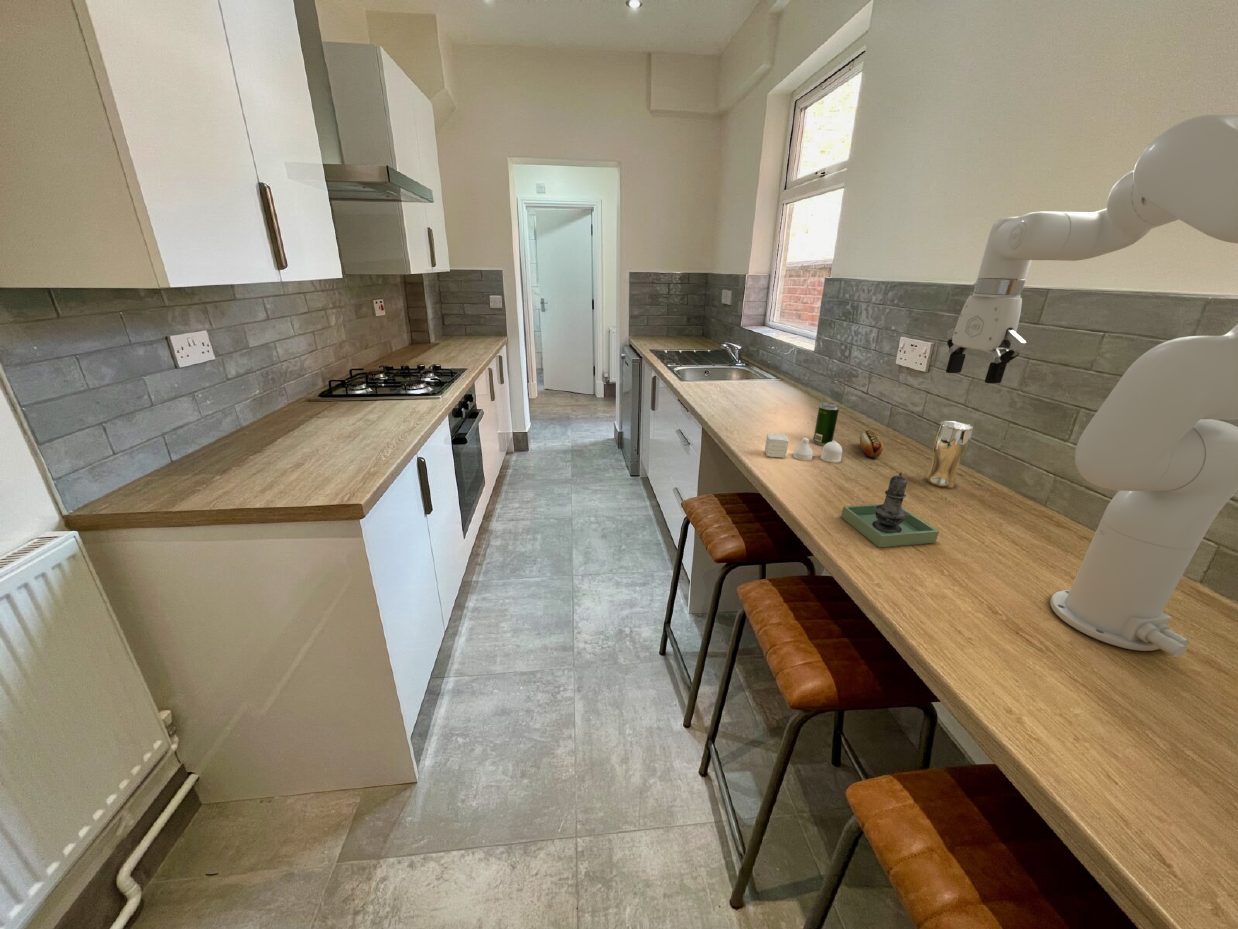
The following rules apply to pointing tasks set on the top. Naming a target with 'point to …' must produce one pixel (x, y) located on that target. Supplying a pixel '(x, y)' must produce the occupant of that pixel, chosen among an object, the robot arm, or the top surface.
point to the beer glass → (948, 452)
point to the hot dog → (871, 443)
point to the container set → (801, 449)
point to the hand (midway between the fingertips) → (971, 377)
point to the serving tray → (910, 534)
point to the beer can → (825, 423)
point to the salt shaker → (892, 507)
